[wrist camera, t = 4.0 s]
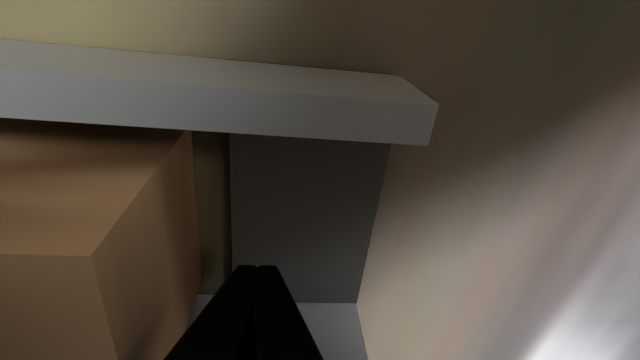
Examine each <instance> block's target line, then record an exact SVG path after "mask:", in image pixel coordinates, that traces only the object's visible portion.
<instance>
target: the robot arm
mask: <svg viewBox="0 0 640 360" xmlns="http://www.w3.org/2000/svg"><path fill="white" fill-rule="evenodd" d="M163 360H324V358H323V356H322V354H321V352H320V350H319V348H318V346H317V344H316V342H315V340H314V338H313V336H312V334H311V332H310V330H309V328H308V326H307V324H306V322H305V320H304V318H303V316H302V315H301V313H300V311H299V309H298V307H297V305H296V303H295V301H294V299H293V297H292V295H291V293H290V291H289V289H288V287H287V285H286V283H285V281H284V279H283V277H282V275H281V273H280V271H279V269H278V267H277V266H275V265H259V266H258V268H257V266H256V265H238V266H237V267H236V268H235V270H234V271H233V272H232V273H231V275H230V276H229V277H228V278H227V280H226V281H225V282H224V283H223V285H222V286H221V287H220V288H219V290H218V291H217V292H216V293H215V295H214V296H213V297H212V299H211V300H210V301H209V302H208V304H207V305H206V306H205V307H204V309H203V310H202V311H201V312H200V314H199V315H198V316H197V317H196V319H195V320H194V321H193V322H192V324H191V325H190V326H189V328H188V329H187V330H186V331H185V333H184V334H183V335H182V336H181V338H180V339H179V340H178V341H177V343H176V344H175V345H174V346H173V348H172V349H171V350H170V351H169V353H168V354H167V355H166V357H165V358H164V359H163Z"/></svg>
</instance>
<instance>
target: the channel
mask: <svg viewBox="0 0 640 360" xmlns="http://www.w3.org/2000/svg"><path fill="white" fill-rule="evenodd" d="M438 108H439V104H438V103H437V102H435V101H434V100H433V99H431V98H430V97H428V96H427V95H426V94H424V93H423V92H421V91H420V90H419V89H417V88H416V87H415V86H413V85H412V84H410V83H409V82H408V81H406V80H405V79H404V78H402V77H401V76H399V75H388V74H377V73H366V72H355V71H344V70H333V69H323V68H312V67H301V66H290V65H279V64H268V63H257V62H246V61H235V60H224V59H214V58H203V57H192V56H181V55H170V54H159V53H148V52H137V51H126V50H116V49H105V48H94V47H83V46H72V45H61V44H50V43H39V42H28V41H17V40H7V39H0V118H15V119H30V120H45V121H60V122H75V123H90V124H105V125H120V126H135V127H150V128H165V129H180V130H195V131H210V132H225V133H229V138H230V184H231V230H232V272H233V271H234V270H235V268H236V267H237V266H238V265H256V266H257V268H258V266H259V265H275V266H277V267H278V269H279V271H280V273H281V275H282V277H283V279H284V281H285V283H286V285H287V287H288V289H289V291H290V293H291V295H292V297H293V299H294V301H295V303H296V305H297V307H298V309H299V311H300V313H301V315H302V316H303V318H304V320H305V322H306V324H307V326H308V328H309V330H310V332H311V334H312V336H313V338H314V340H315V342H316V344H317V346H318V348H319V350H320V352H321V354H322V356H323V358H324V360H368V357H367V353H366V348H365V344H364V339H363V335H362V330H361V325H360V321H359V316H358V312H357V307H356V303H357V299H358V294H359V289H360V285H361V280H362V275H363V270H364V266H365V261H366V256H367V252H368V247H369V242H370V238H371V233H372V228H373V224H374V219H375V214H376V210H377V205H378V200H379V196H380V191H381V186H382V182H383V177H384V172H385V168H386V163H387V158H388V153H389V149H390V144H405V145H420V146H428V145H429V142H430V138H431V134H432V131H433V127H434V123H435V119H436V116H437V112H438ZM214 295H215V294H196V297H195V300H194V304H193V307H192V310H191V313H190V317H189V320H188V323H187V326H186V330H187V329H188V328H189V326H190V325H191V324H192V322H193V321H194V320H195V319H196V317H197V316H198V315H199V314H200V312H201V311H202V310H203V309H204V307H205V306H206V305H207V304H208V302H209V301H210V300H211V299H212V297H213V296H214ZM186 330H185V331H186Z"/></svg>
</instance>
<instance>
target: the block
mask: <svg viewBox="0 0 640 360" xmlns="http://www.w3.org/2000/svg"><path fill="white" fill-rule="evenodd" d="M201 277H202V264H201V251H200V238H199V225H198V211H197V198H196V185H195V172H194V159H193V145H192V132H191V130H180V129H165V128H150V127H135V126H120V125H105V124H90V123H75V122H60V121H45V120H30V119H15V118H0V360H163V359H164V358H165V357H166V355H167V354H168V353H169V351H170V350H171V349H172V348H173V346H174V345H175V344H176V343H177V341H178V340H179V339H180V338H181V336H182V335H183V334H184V333H185V330H186V326H187V323H188V320H189V317H190V313H191V310H192V307H193V304H194V300H195V297H196V294H197V290H198V287H199V284H200V281H201Z"/></svg>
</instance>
